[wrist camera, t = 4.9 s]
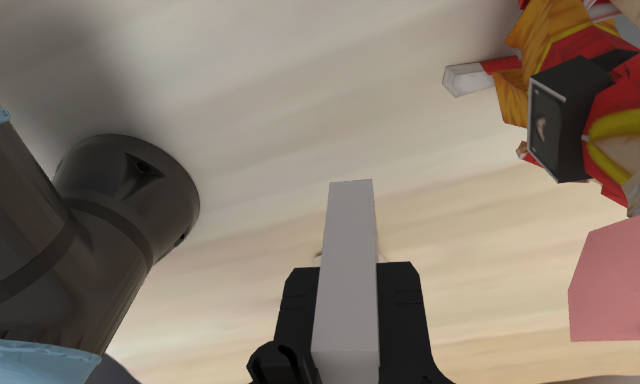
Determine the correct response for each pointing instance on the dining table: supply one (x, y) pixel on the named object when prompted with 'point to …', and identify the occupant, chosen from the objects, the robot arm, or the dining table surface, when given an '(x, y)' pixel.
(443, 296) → the dining table surface
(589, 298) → the toy
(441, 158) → the dining table surface
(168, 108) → the dining table surface
